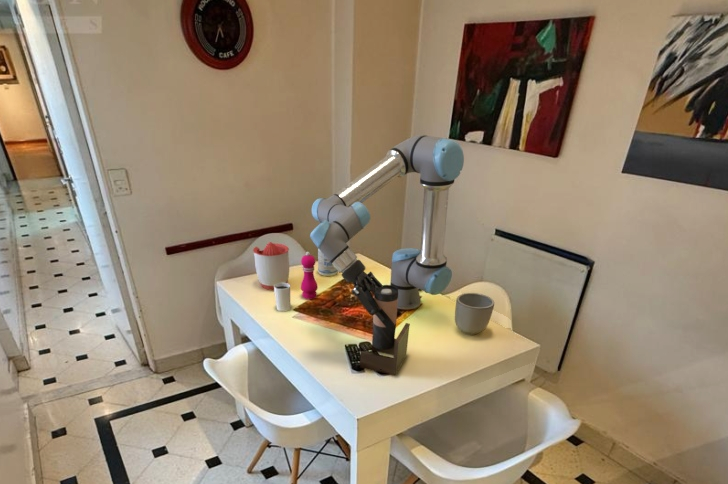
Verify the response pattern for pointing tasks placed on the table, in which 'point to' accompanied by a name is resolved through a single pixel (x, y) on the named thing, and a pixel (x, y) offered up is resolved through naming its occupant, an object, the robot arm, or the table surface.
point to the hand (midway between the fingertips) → (394, 321)
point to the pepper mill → (308, 277)
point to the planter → (473, 312)
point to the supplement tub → (325, 265)
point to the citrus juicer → (272, 265)
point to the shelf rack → (385, 362)
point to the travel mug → (388, 303)
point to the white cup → (282, 296)
